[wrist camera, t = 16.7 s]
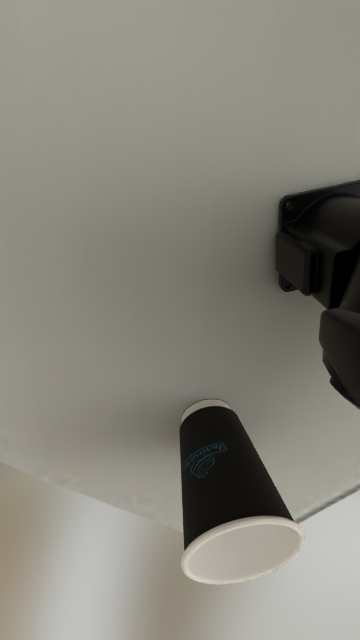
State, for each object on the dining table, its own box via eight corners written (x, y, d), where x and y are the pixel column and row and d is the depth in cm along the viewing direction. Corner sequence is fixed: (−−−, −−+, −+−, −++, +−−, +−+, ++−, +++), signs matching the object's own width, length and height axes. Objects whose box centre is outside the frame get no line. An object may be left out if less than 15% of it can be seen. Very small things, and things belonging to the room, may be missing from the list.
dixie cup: (227, 450, 31) (268, 584, 22) (152, 441, 29) (163, 586, 20) (263, 393, 28) (330, 524, 19) (181, 378, 26) (211, 518, 16)
